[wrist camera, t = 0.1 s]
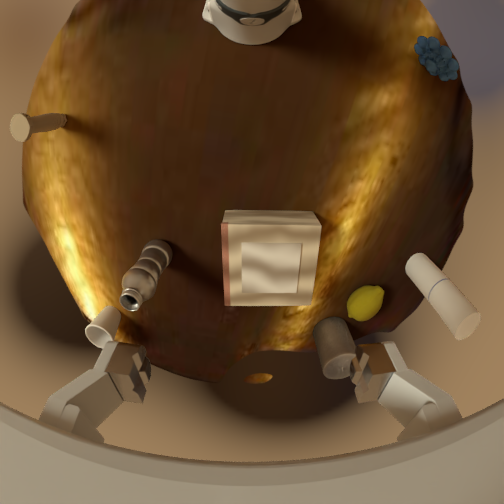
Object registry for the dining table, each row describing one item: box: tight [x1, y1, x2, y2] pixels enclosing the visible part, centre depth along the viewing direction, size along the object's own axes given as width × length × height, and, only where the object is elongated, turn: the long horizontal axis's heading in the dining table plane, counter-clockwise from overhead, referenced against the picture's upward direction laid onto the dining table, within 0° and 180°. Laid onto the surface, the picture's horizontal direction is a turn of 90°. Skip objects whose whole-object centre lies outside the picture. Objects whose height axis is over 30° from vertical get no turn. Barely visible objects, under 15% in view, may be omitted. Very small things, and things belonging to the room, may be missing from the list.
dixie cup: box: [85, 306, 121, 348], centre depth 66 cm, size 8×8×10 cm
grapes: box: [414, 36, 459, 81], centre depth 36 cm, size 12×7×12 cm, turn 52°
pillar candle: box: [313, 317, 356, 379], centre depth 66 cm, size 10×10×15 cm
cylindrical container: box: [406, 253, 481, 340], centre depth 53 cm, size 7×7×25 cm
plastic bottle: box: [120, 240, 172, 311], centre depth 52 cm, size 6×7×20 cm
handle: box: [10, 113, 67, 142], centre depth 40 cm, size 5×6×15 cm
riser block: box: [221, 210, 322, 306], centre depth 58 cm, size 18×18×8 cm
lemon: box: [347, 285, 384, 321], centre depth 64 cm, size 11×8×8 cm
